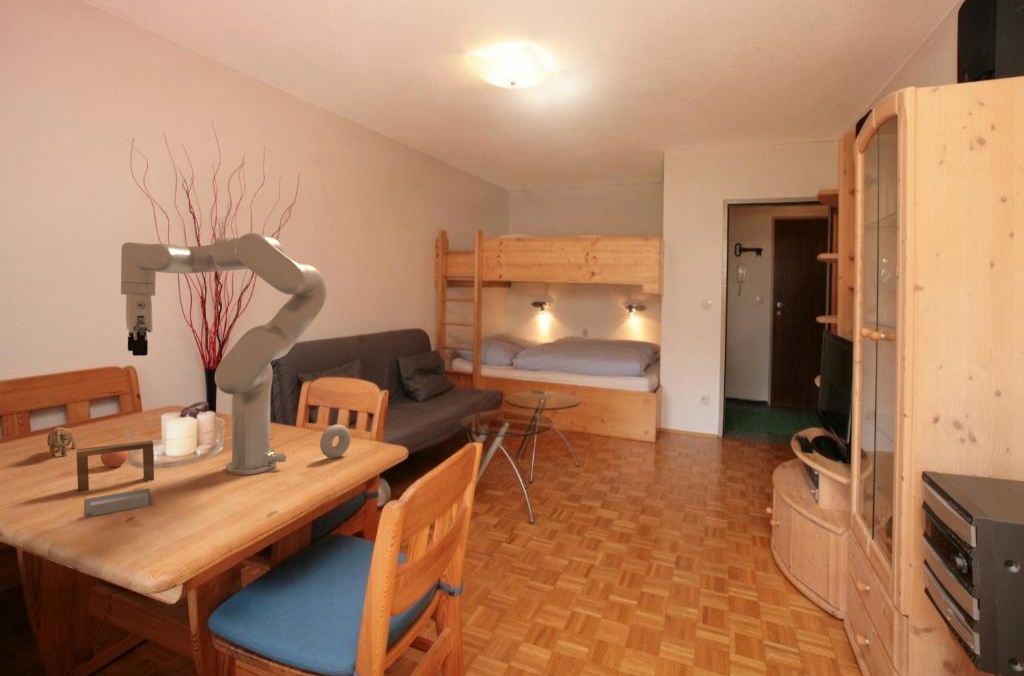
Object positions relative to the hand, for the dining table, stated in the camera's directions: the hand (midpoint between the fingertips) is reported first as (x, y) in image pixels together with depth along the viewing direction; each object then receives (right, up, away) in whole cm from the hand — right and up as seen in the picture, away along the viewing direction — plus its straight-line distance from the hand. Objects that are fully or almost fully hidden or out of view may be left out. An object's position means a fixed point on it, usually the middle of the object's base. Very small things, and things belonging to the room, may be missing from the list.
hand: (137, 353), depth 142 cm
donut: (+49, -32, +15) cm, 60 cm away
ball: (-7, -28, +1) cm, 29 cm away
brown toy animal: (-29, -30, +10) cm, 43 cm away
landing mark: (+12, -33, -22) cm, 42 cm away
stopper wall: (+15, -34, -26) cm, 45 cm away
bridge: (+3, -32, -11) cm, 34 cm away
